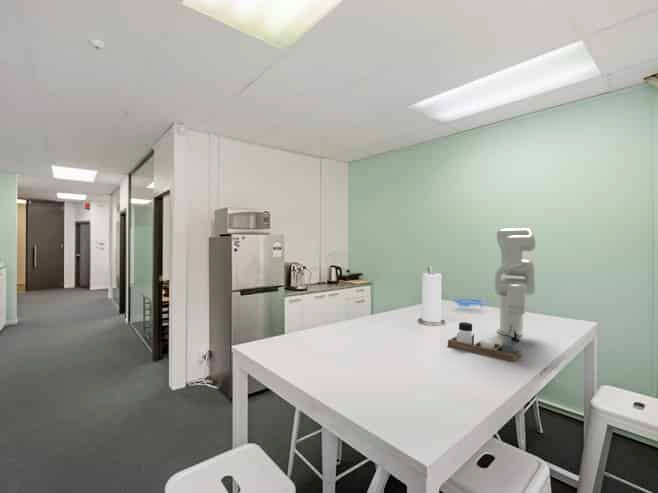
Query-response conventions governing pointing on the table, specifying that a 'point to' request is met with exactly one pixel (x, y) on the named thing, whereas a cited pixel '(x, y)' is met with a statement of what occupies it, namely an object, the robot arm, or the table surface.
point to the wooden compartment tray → (484, 350)
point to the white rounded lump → (487, 344)
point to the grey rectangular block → (510, 346)
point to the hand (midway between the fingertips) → (515, 347)
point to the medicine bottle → (465, 333)
